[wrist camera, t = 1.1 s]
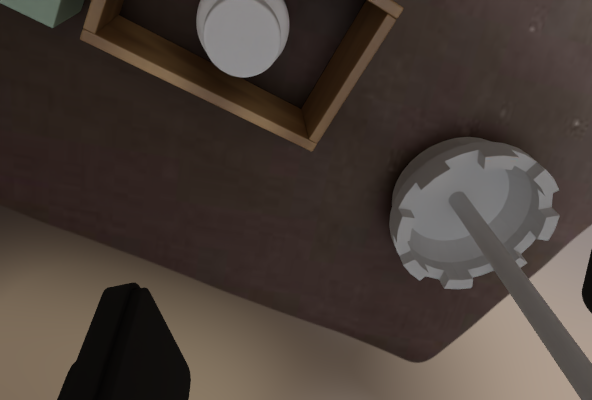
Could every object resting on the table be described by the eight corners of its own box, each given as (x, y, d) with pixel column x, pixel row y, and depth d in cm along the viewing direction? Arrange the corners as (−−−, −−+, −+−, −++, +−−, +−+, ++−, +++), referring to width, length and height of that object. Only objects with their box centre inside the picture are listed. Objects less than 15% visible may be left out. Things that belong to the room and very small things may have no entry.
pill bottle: (218, -53, 28) (207, -39, 21) (295, -19, 30) (310, 6, 22) (195, 29, 31) (178, 68, 23) (267, 57, 32) (271, 102, 25)
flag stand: (353, 226, 41) (516, 726, 16) (435, 100, 35) (903, 589, 10) (466, 265, 45) (738, 716, 20) (556, 158, 39) (1113, 614, 14)
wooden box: (105, 19, 30) (78, 39, 25) (162, -152, 25) (142, -166, 21) (304, 120, 35) (312, 152, 30) (381, -7, 30) (404, 8, 26)
